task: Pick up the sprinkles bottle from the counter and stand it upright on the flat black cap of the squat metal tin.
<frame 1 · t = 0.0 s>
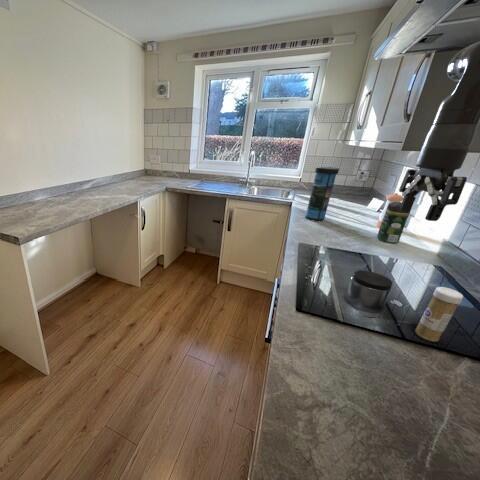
hand: (417, 215, 64), 29 cm above the worktop, tool pointing down, fingers open, 8 cm apart
sprinkles bottle: (426, 336, 66), on the worktop
squat metal tin: (361, 307, 76), on the worktop
coffee jar: (386, 240, 126), on the worktop
advertising column: (314, 219, 157), on the worktop
pepper shaker: (383, 227, 144), on the worktop
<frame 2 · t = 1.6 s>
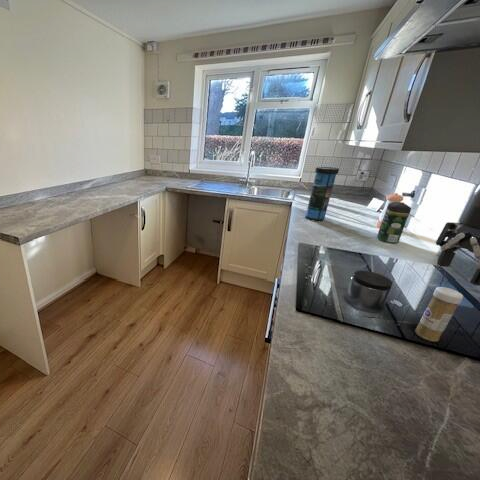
hand: (458, 274, 59), 18 cm above the worktop, tool pointing down, fingers open, 8 cm apart
nothing on the worktop moved.
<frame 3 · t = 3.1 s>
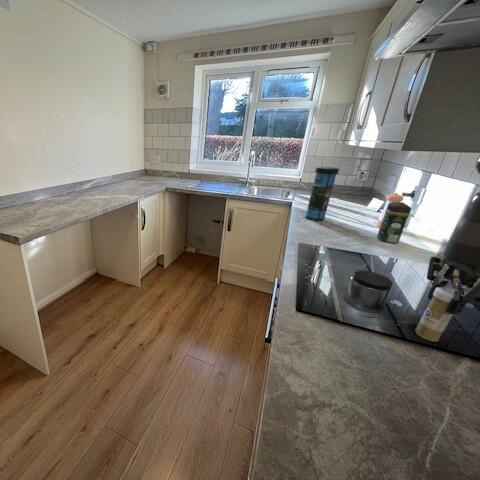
hand: (442, 305, 62), 9 cm above the worktop, tool pointing down, fingers closed on sprinkles bottle, 4 cm apart
sprinkles bottle: (426, 336, 66), on the worktop, touching gripper
everything else where it was.
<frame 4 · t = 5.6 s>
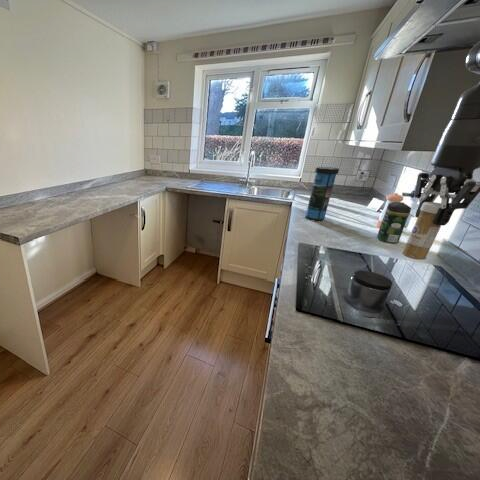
hand: (429, 220, 61), 29 cm above the worktop, tool pointing down, fingers closed on sprinkles bottle, 4 cm apart
sprinkles bottle: (413, 257, 64), point 19 cm above the worktop, touching gripper
everything else where it was.
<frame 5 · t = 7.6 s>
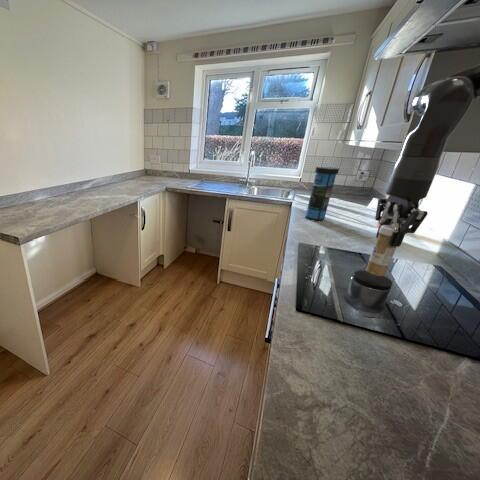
hand: (387, 241, 68), 21 cm above the worktop, tool pointing down, fingers closed on sprinkles bottle, 4 cm apart
sprinkles bottle: (374, 273, 72), point 12 cm above the worktop, touching gripper
everything else where it was.
when the fingers open (20 cm above the worktop, at t = 8.5 s): sprinkles bottle stays where it is, resting on squat metal tin.
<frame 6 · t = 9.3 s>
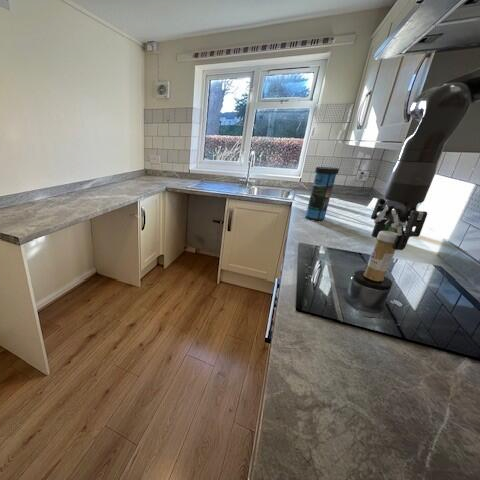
hand: (386, 242, 68), 21 cm above the worktop, tool pointing down, fingers open, 8 cm apart
sprinkles bottle: (372, 278, 72), point 10 cm above the worktop, touching squat metal tin
squat metal tin: (361, 307, 76), on the worktop, touching sprinkles bottle
everything else where it was.
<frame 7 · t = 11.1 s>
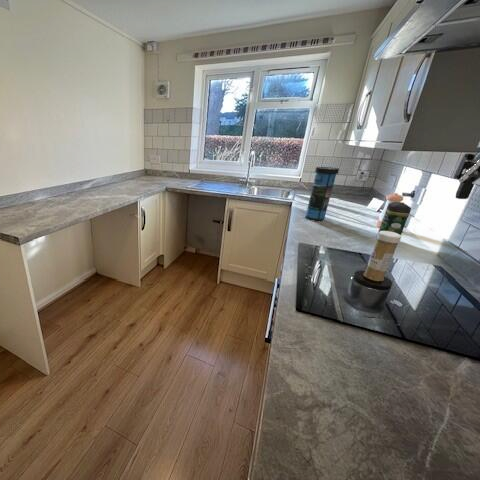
hand: (478, 202, 59), 33 cm above the worktop, tool pointing down, fingers open, 8 cm apart
nothing on the worktop moved.
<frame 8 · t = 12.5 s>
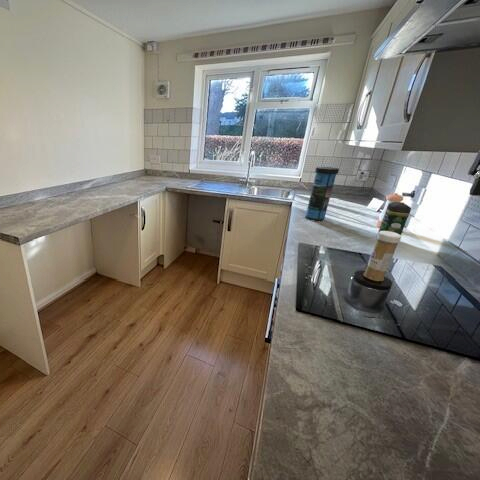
nothing on the worktop moved.
at the end: sprinkles bottle 0.1 cm off-centre on the squat metal tin, point 10.0 cm above the squat metal tin's base; sprinkles bottle tilted 0°; squat metal tin tilted 0° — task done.
